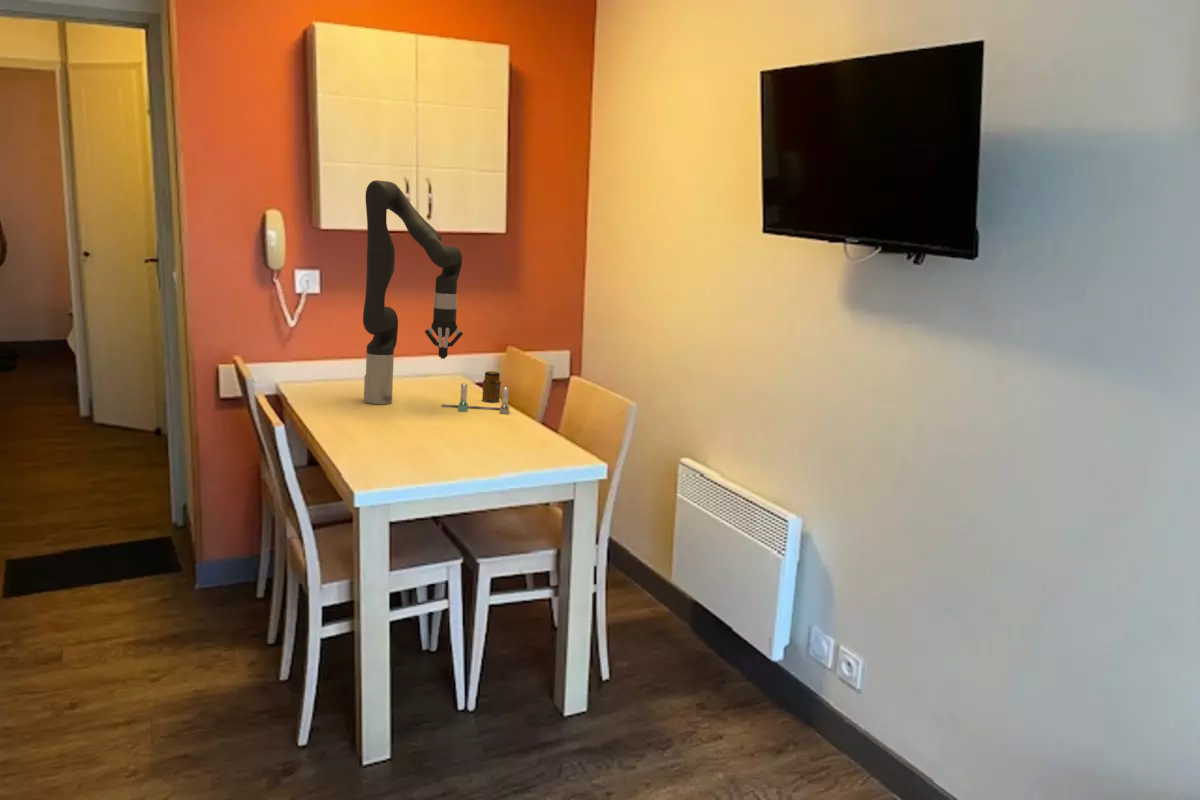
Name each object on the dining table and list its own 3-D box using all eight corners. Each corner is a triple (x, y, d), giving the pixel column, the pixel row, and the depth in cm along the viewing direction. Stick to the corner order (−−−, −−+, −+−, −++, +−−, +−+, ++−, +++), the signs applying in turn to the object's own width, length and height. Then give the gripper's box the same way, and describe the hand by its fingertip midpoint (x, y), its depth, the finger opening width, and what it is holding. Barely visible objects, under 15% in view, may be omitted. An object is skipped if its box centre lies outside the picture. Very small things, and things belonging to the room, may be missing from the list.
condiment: (493, 402, 342) (495, 370, 339) (506, 407, 335) (508, 374, 333) (476, 404, 337) (478, 371, 335) (489, 408, 331) (491, 375, 328)
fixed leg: (499, 414, 317) (501, 388, 315) (500, 411, 322) (501, 385, 320) (508, 415, 317) (510, 389, 315) (508, 412, 322) (510, 386, 320)
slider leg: (457, 411, 316) (459, 385, 314) (459, 408, 320) (460, 382, 319) (466, 411, 316) (468, 385, 314) (467, 408, 321) (469, 382, 319)
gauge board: (436, 418, 309) (436, 411, 309) (440, 409, 323) (440, 403, 323) (509, 422, 311) (509, 416, 311) (510, 413, 325) (510, 407, 325)
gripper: (423, 306, 307) (421, 358, 310) (464, 309, 308) (461, 361, 311) (426, 304, 314) (424, 355, 317) (466, 307, 315) (463, 358, 318)
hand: (442, 358), depth 314 cm, fingers closed
